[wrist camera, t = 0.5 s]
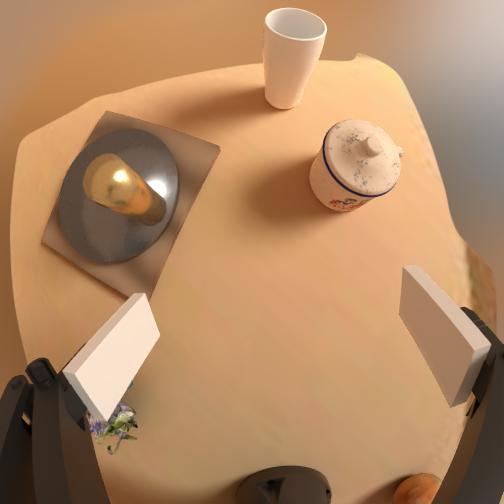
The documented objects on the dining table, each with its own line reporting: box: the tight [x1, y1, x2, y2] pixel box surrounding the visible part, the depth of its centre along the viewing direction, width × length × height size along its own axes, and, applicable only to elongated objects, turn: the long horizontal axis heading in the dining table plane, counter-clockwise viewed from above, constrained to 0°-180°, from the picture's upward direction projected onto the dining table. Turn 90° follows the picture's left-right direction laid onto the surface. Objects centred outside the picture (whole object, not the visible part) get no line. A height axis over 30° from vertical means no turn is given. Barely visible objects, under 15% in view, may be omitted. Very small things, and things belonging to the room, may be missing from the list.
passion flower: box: [85, 380, 138, 455], centre depth 28 cm, size 11×11×12 cm
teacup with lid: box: [309, 119, 403, 212], centre depth 29 cm, size 12×9×12 cm
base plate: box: [41, 111, 220, 303], centre depth 34 cm, size 22×20×2 cm
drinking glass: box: [262, 8, 327, 109], centre depth 28 cm, size 7×7×15 cm
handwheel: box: [59, 128, 180, 263], centre depth 26 cm, size 18×18×13 cm
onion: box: [392, 473, 441, 504], centre depth 26 cm, size 10×10×10 cm
